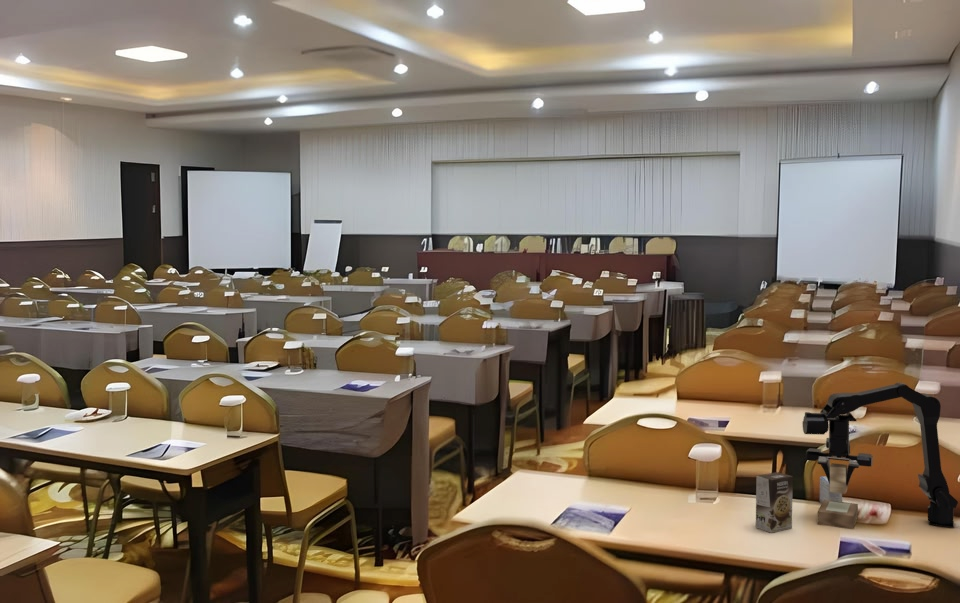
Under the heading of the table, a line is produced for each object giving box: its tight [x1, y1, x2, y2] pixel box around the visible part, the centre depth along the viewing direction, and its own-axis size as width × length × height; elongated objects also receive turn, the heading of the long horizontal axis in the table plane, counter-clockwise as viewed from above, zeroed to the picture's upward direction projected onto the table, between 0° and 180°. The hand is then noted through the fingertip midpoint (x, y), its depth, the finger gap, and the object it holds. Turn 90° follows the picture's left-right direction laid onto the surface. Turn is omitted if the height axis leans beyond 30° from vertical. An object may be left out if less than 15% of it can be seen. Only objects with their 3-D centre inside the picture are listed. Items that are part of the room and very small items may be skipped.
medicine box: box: [819, 475, 843, 504], centre depth 270 cm, size 8×4×9 cm, turn 179°
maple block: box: [830, 462, 848, 495], centre depth 253 cm, size 4×4×8 cm
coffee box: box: [755, 471, 794, 534], centre depth 247 cm, size 9×6×16 cm
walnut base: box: [817, 500, 859, 530], centre depth 254 cm, size 10×14×4 cm
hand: (838, 484), depth 254 cm, fingers closed on maple block, 4 cm apart
